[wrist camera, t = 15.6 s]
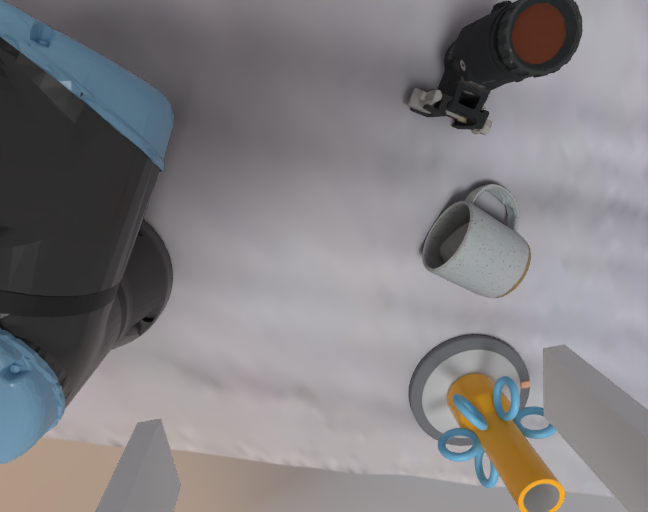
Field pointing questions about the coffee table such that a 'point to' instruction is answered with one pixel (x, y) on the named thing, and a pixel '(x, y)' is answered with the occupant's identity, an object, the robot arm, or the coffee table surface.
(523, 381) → the plate
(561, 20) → the scope
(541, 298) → the coffee table surface
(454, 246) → the ceramic mug
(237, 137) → the coffee table surface
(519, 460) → the cylinder
